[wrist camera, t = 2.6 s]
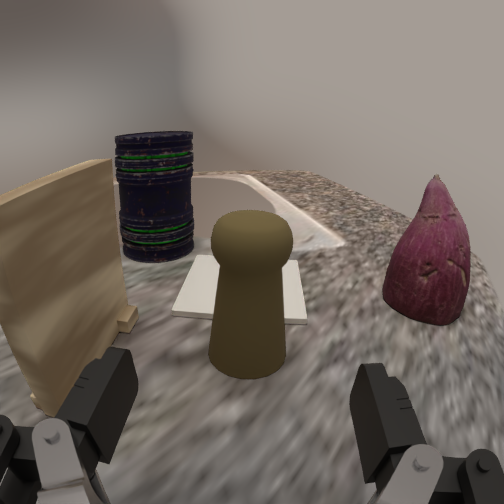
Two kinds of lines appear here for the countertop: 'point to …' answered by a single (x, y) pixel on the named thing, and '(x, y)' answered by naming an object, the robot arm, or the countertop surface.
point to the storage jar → (155, 195)
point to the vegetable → (431, 261)
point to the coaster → (205, 285)
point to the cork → (249, 293)
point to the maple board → (61, 277)
